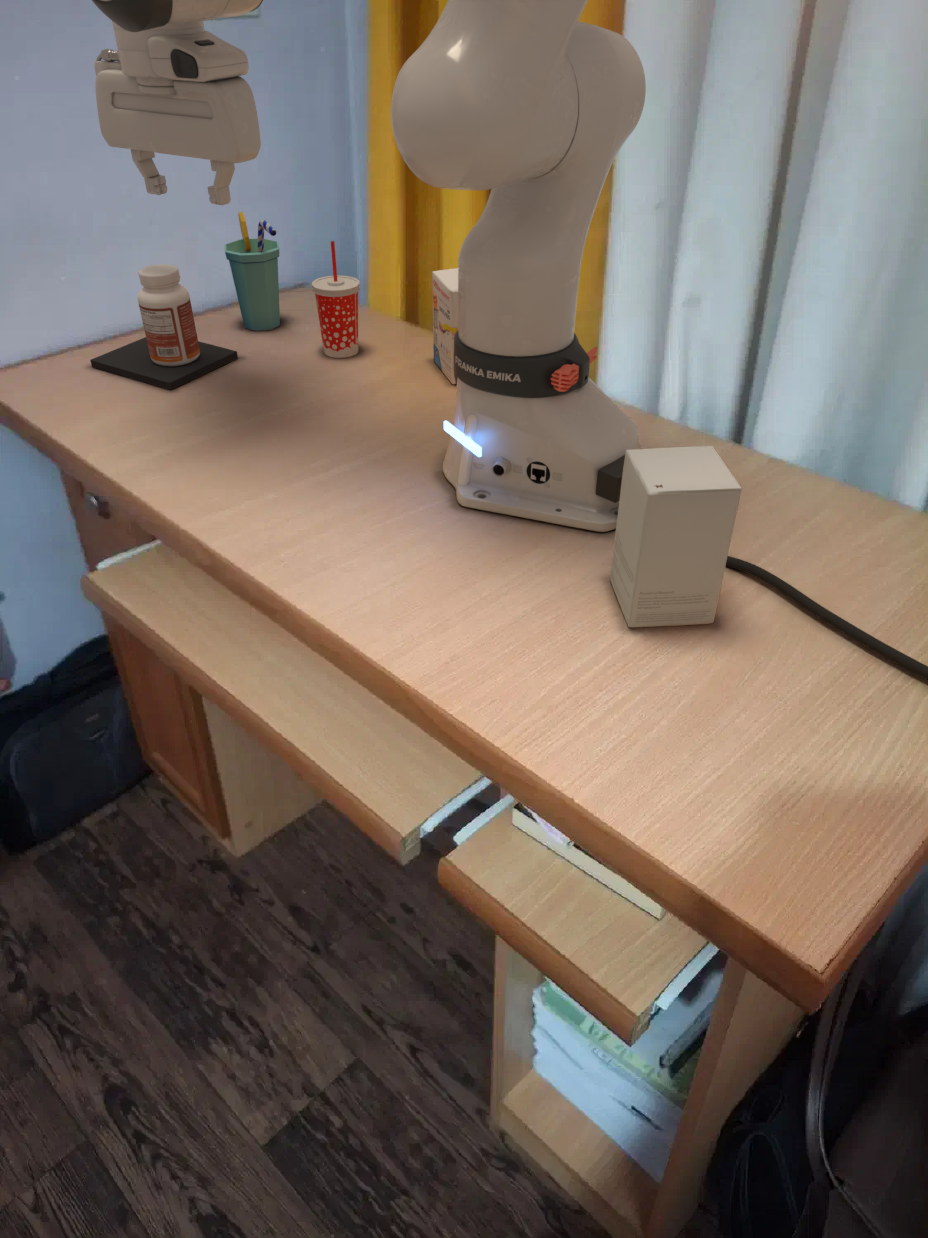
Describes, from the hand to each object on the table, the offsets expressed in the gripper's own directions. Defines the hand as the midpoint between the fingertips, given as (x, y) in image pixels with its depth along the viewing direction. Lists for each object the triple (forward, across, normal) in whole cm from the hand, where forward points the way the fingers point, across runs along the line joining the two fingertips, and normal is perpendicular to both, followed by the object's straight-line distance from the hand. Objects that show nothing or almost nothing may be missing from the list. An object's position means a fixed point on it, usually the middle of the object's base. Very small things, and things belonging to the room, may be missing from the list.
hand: (188, 198), depth 102 cm
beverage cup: (+21, +8, +15) cm, 27 cm away
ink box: (+21, +26, +19) cm, 38 cm away
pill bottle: (+20, -7, 0) cm, 21 cm away
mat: (+21, -9, 0) cm, 23 cm away
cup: (+21, -7, +17) cm, 28 cm away
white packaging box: (+22, +64, -17) cm, 70 cm away
